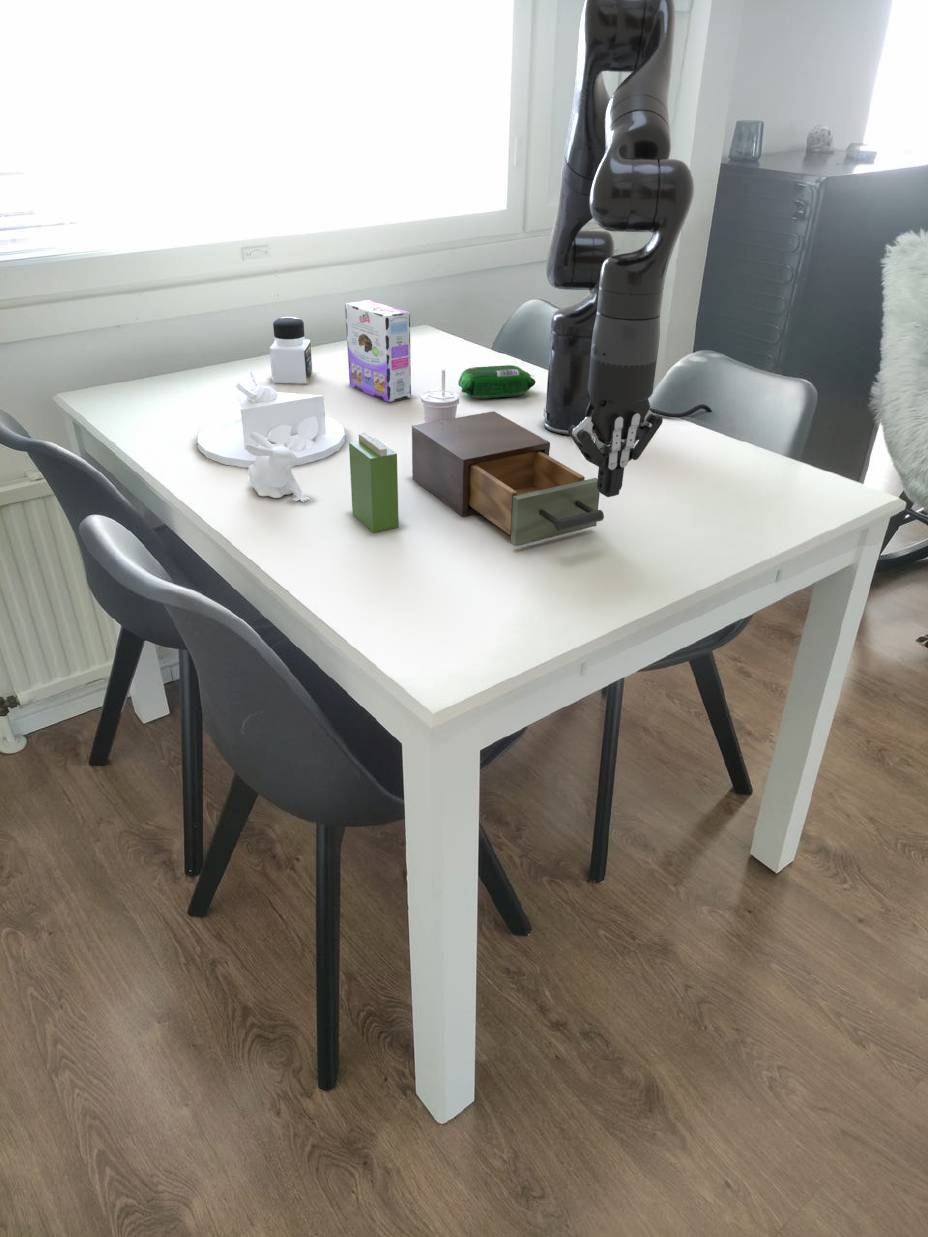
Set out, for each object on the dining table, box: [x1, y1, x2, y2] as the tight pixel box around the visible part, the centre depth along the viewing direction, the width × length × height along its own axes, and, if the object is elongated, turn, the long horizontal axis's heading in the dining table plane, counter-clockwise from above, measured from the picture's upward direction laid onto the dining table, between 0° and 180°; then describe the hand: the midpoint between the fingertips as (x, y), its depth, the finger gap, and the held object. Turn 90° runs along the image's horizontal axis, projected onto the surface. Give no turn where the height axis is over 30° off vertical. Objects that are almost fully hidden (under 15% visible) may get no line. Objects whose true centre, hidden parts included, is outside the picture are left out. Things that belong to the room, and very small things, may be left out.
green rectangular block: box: [348, 432, 400, 534], centre depth 128 cm, size 7×4×12 cm, turn 30°
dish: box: [197, 368, 346, 469], centre depth 154 cm, size 25×25×11 cm
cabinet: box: [411, 410, 551, 518], centre depth 139 cm, size 16×15×9 cm
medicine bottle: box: [269, 316, 313, 385], centre depth 185 cm, size 7×7×12 cm
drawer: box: [468, 450, 605, 548], centre depth 127 cm, size 20×14×7 cm
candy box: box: [344, 299, 412, 403], centre depth 177 cm, size 14×6×16 cm, turn 40°
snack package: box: [458, 364, 536, 400], centre depth 180 cm, size 7×16×5 cm, turn 104°
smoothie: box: [419, 369, 460, 423], centre depth 151 cm, size 6×6×14 cm
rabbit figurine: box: [246, 432, 311, 503], centre depth 136 cm, size 12×8×10 cm, turn 35°
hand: (608, 493), depth 113 cm, fingers closed
